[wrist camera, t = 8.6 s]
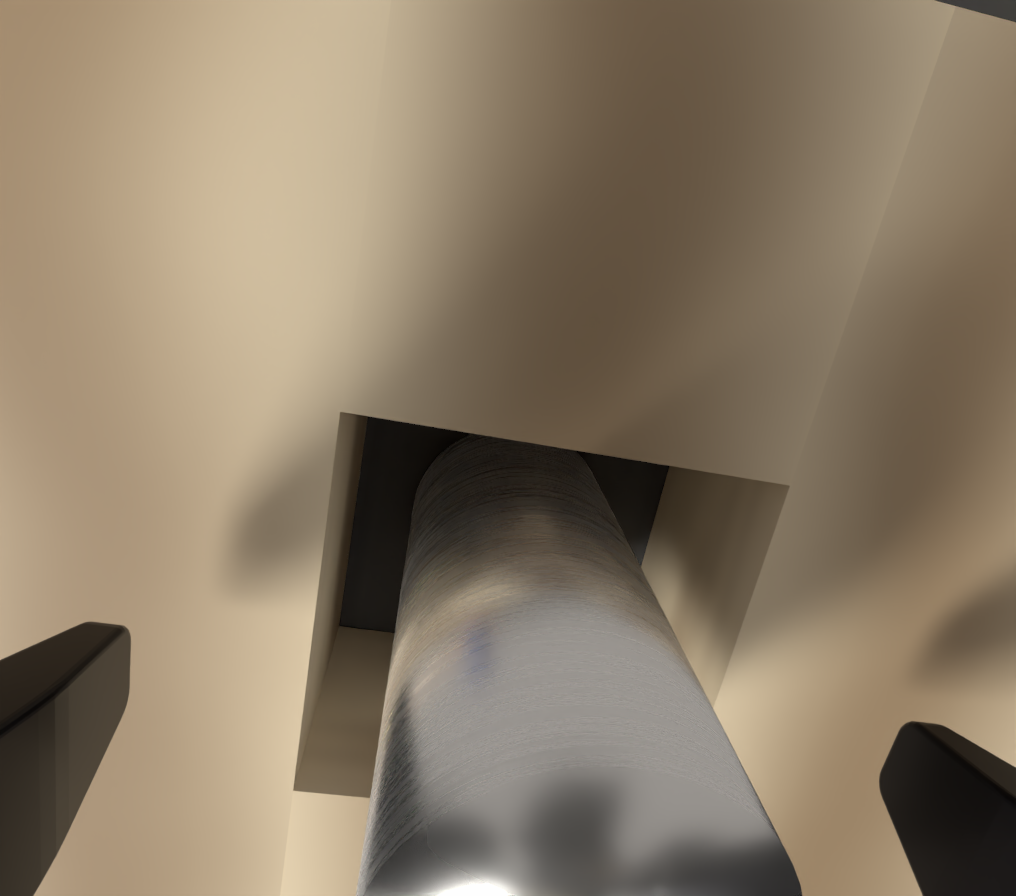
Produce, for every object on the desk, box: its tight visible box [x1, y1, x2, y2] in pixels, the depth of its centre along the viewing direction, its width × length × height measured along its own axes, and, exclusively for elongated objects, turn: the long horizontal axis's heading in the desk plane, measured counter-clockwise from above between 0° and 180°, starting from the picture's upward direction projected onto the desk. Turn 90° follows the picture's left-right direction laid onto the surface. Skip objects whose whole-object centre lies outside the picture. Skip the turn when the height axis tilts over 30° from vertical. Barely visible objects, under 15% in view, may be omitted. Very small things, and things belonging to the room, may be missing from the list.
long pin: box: [356, 433, 802, 896], centre depth 9 cm, size 4×4×8 cm
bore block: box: [0, 0, 1016, 896], centre depth 11 cm, size 16×16×4 cm
